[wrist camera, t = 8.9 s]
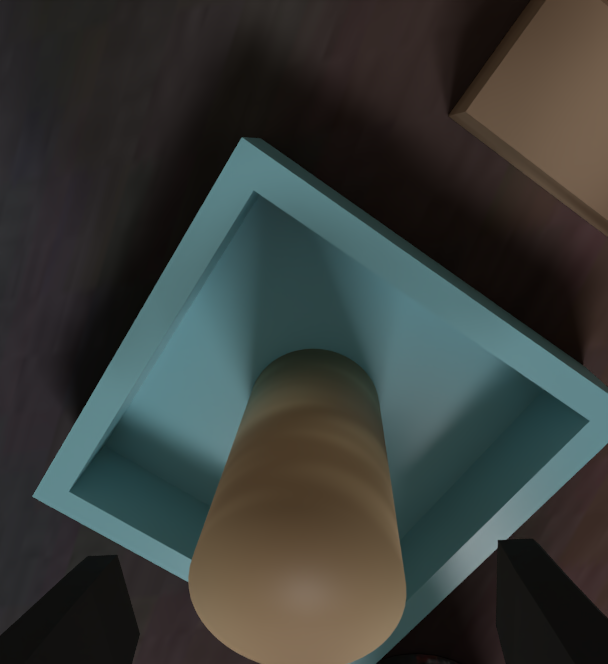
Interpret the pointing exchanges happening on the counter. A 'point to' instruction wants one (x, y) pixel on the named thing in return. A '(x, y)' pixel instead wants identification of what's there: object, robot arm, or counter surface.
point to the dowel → (303, 521)
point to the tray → (341, 337)
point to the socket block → (549, 102)
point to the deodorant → (416, 659)
